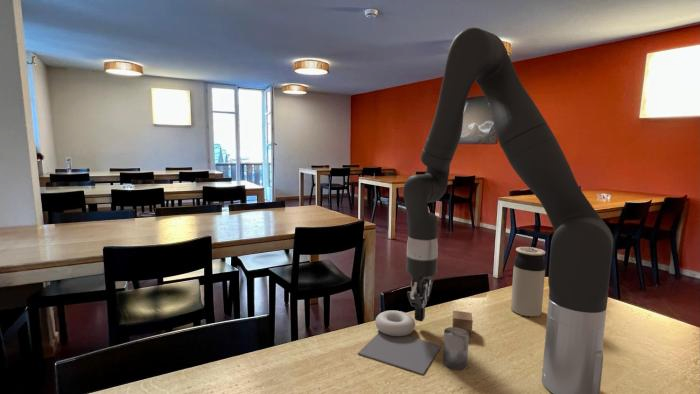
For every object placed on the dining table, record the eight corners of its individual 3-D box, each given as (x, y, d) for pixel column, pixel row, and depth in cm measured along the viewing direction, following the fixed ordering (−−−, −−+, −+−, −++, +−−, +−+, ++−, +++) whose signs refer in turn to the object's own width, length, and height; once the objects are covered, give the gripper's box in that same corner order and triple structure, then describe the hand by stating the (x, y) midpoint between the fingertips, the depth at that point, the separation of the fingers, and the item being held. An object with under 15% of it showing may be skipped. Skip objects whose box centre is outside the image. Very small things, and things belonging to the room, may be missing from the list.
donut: (423, 321, 90) (387, 328, 86) (422, 334, 90) (387, 342, 86) (402, 305, 99) (368, 311, 95) (401, 317, 99) (368, 324, 95)
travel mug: (512, 315, 103) (517, 252, 100) (509, 304, 110) (513, 245, 108) (544, 319, 100) (549, 255, 98) (538, 307, 108) (543, 247, 106)
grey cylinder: (469, 361, 80) (471, 330, 79) (464, 373, 75) (465, 341, 74) (446, 354, 82) (447, 325, 81) (439, 366, 78) (441, 334, 77)
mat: (441, 346, 86) (441, 345, 86) (423, 375, 74) (423, 373, 74) (382, 330, 93) (382, 328, 93) (357, 354, 82) (357, 352, 82)
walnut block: (470, 329, 94) (471, 312, 94) (471, 337, 90) (472, 320, 89) (452, 327, 95) (453, 310, 95) (452, 335, 91) (453, 318, 90)
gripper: (427, 264, 84) (424, 335, 87) (444, 250, 95) (441, 313, 98) (397, 258, 88) (395, 326, 90) (417, 245, 99) (415, 306, 102)
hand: (419, 319), depth 94 cm, fingers closed
